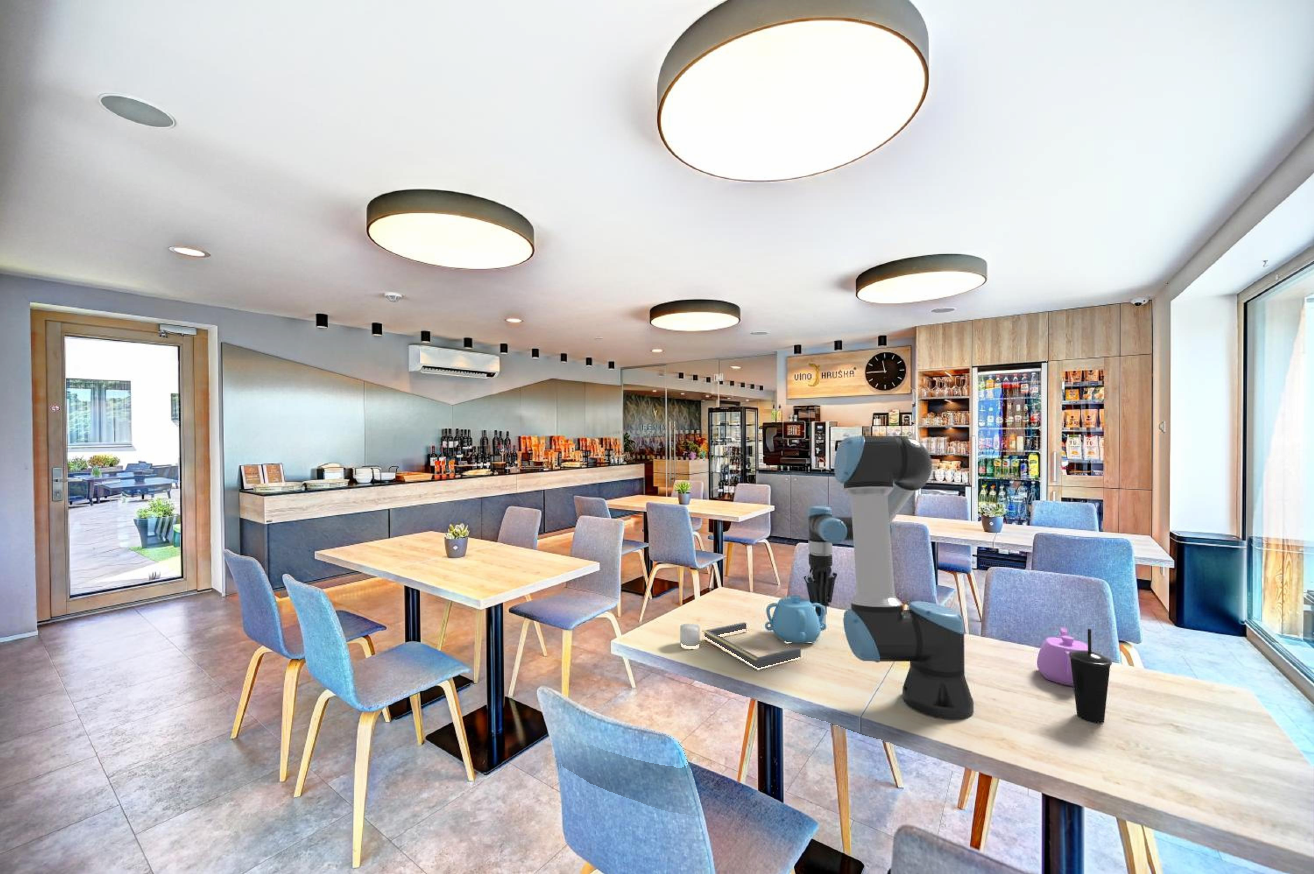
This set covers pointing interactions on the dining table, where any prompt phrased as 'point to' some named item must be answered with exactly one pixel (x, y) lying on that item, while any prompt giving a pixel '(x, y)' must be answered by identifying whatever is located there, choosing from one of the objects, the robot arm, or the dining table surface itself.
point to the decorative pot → (795, 620)
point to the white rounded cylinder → (690, 634)
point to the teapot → (1058, 658)
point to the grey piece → (744, 654)
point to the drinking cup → (1090, 682)
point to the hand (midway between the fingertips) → (821, 624)
